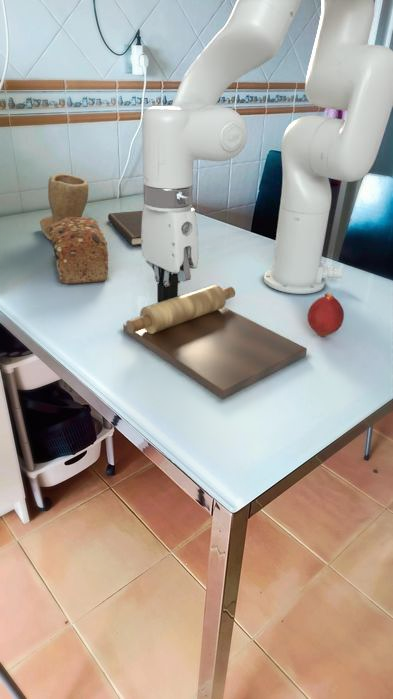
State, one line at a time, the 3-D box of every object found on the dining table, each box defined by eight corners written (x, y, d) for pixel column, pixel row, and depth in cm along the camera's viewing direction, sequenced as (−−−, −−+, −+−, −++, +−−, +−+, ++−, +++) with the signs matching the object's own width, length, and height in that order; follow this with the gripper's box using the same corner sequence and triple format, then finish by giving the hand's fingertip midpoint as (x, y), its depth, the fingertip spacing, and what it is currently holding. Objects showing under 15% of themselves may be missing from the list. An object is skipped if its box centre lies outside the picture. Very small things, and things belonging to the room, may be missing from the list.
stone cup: (96, 243, 118) (91, 180, 111) (47, 247, 114) (38, 182, 107) (85, 225, 130) (80, 168, 123) (40, 229, 126) (31, 169, 119)
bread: (110, 282, 97) (107, 234, 92) (56, 287, 95) (50, 237, 89) (99, 252, 113) (96, 209, 108) (52, 255, 110) (47, 211, 105)
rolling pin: (222, 298, 89) (223, 276, 86) (239, 307, 86) (241, 284, 83) (122, 333, 76) (121, 309, 74) (138, 344, 73) (137, 319, 71)
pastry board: (203, 304, 90) (204, 296, 89) (305, 356, 75) (307, 348, 74) (123, 332, 80) (123, 324, 79) (222, 399, 64) (223, 390, 64)
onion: (314, 324, 84) (322, 282, 80) (345, 335, 81) (354, 292, 77) (298, 336, 80) (305, 292, 76) (329, 348, 77) (339, 303, 73)
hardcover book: (161, 217, 140) (161, 209, 139) (191, 240, 122) (191, 231, 121) (108, 221, 135) (107, 213, 134) (131, 246, 117) (130, 237, 116)
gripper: (218, 203, 71) (212, 313, 80) (158, 184, 81) (159, 285, 90) (179, 210, 67) (177, 326, 76) (120, 189, 76) (125, 295, 86)
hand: (167, 303), depth 83 cm, fingers closed
